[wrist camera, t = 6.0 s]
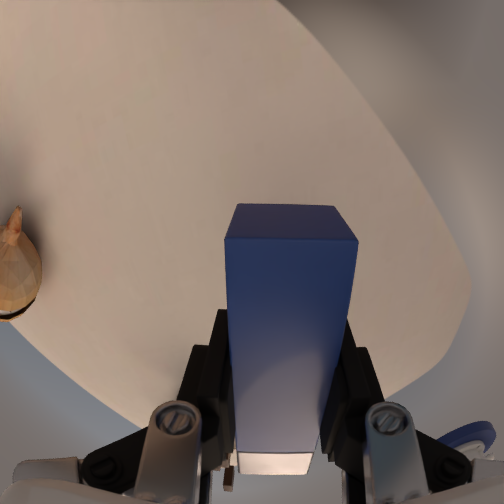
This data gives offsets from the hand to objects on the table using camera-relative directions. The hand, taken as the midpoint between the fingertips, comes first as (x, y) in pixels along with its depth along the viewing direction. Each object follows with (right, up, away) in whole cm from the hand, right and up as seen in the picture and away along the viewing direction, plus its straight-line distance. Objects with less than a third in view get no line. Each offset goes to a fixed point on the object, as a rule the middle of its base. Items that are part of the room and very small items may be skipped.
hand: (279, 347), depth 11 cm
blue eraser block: (0, 0, 0) cm, 0 cm away
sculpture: (-24, +4, +16) cm, 29 cm away
